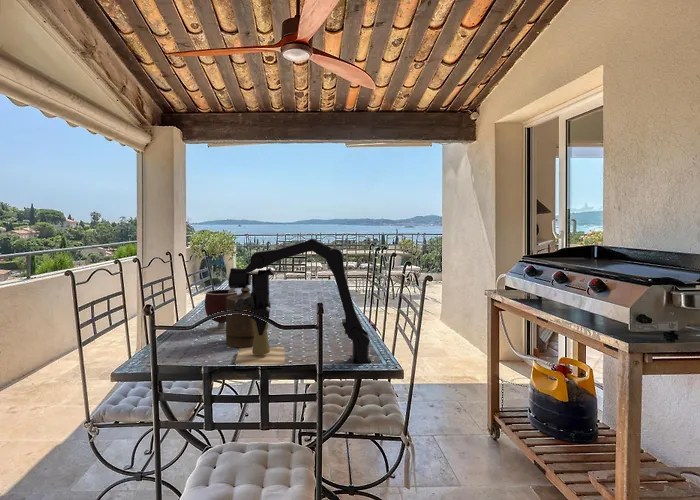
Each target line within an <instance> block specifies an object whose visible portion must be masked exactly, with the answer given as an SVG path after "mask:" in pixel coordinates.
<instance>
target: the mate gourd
mask: <svg viewBox="0 0 700 500" xmlns="http://www.w3.org/2000/svg"><path fill="white" fill-rule="evenodd" d="M236 289H237V288H229V289H227V288H226V289H213V290H212V289H211V290H208V291H206V292H205V297H204V310H205V314H206V316H207V317H208V316H209V315H212V314H214V313H217V312H221V311H226V307H227V306H226V300H227V297H228V296H231V295H238V292H237V290H236ZM211 321H213V322H215V323H218V324H217V326H212V327H209V328H207V329H206V331H207V333H208V334H211V335H226V316H221V317H217V318H214V319H212V320H211Z"/></svg>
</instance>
